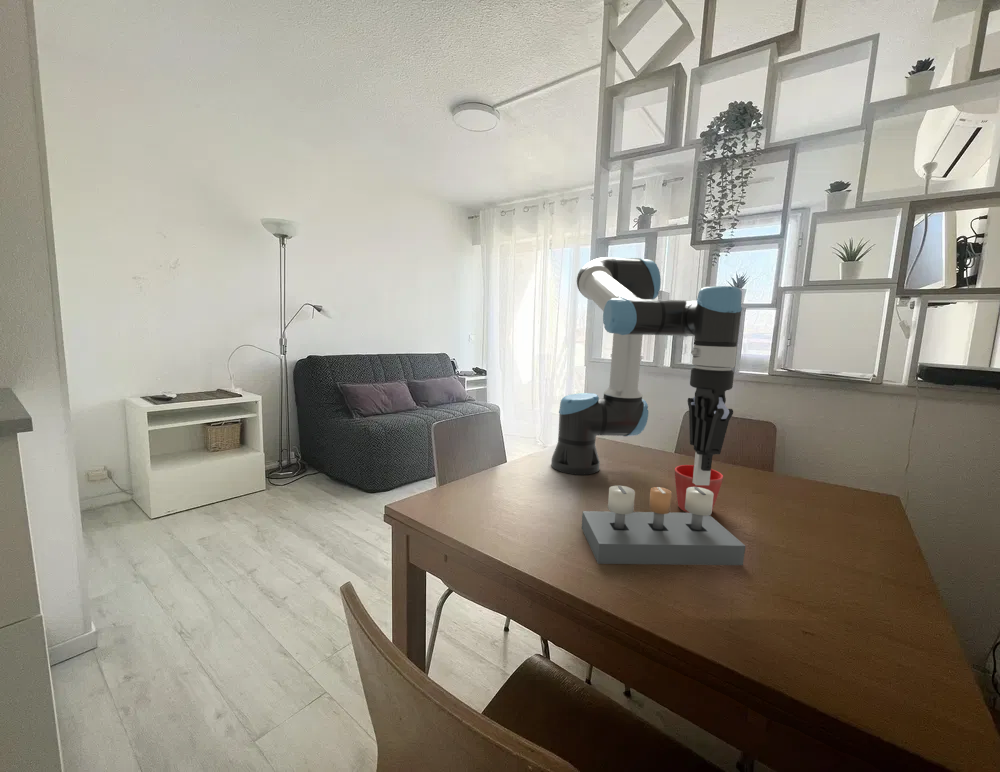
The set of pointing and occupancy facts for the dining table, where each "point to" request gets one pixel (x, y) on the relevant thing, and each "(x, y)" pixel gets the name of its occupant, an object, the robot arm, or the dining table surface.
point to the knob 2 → (698, 505)
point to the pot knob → (659, 505)
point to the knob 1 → (621, 503)
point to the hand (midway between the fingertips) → (700, 483)
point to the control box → (660, 540)
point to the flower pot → (685, 481)
